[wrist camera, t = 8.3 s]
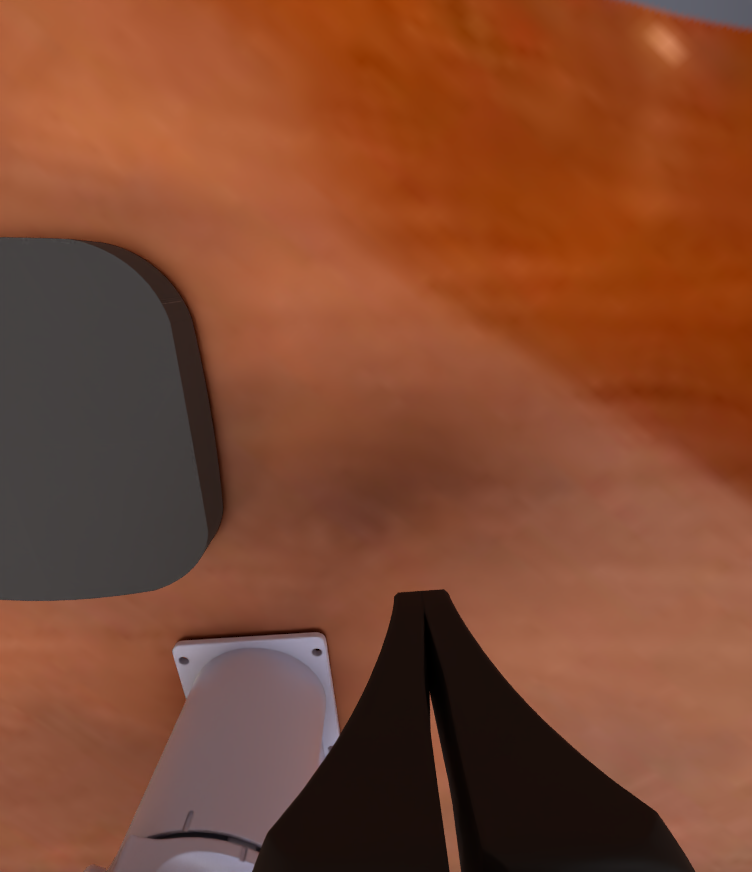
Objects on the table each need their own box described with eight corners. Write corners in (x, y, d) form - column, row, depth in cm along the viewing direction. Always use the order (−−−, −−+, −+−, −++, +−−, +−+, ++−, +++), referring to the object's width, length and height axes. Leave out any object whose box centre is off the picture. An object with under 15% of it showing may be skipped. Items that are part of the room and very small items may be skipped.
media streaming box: (238, 559, 23) (218, 600, 20) (-56, 567, 23) (-117, 609, 20) (186, 236, 18) (149, 229, 15) (-187, 250, 18) (-294, 246, 15)
